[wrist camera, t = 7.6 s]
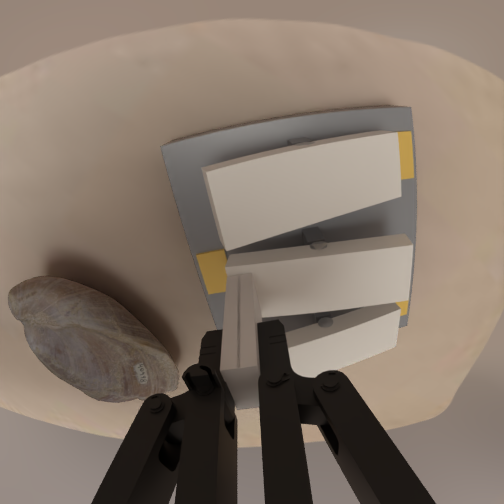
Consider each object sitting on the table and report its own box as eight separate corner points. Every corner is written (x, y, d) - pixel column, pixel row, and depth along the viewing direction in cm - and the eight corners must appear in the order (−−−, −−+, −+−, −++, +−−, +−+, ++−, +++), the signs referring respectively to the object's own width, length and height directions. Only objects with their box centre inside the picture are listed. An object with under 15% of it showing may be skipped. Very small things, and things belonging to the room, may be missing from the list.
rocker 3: (258, 374, 20) (263, 392, 19) (247, 339, 19) (252, 358, 17) (385, 332, 21) (395, 346, 20) (388, 295, 20) (400, 308, 18)
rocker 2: (243, 301, 19) (239, 319, 18) (230, 252, 18) (224, 267, 16) (400, 283, 17) (408, 300, 16) (403, 231, 16) (413, 245, 14)
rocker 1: (218, 238, 15) (226, 251, 13) (200, 166, 13) (205, 172, 12) (382, 189, 17) (401, 196, 15) (377, 129, 15) (397, 132, 14)
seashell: (187, 414, 25) (70, 416, 12) (94, 391, 28) (-20, 366, 15) (197, 320, 29) (100, 253, 16) (106, 313, 32) (5, 257, 19)
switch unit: (230, 337, 26) (228, 379, 22) (172, 140, 19) (151, 151, 14) (394, 304, 25) (415, 339, 21) (390, 105, 18) (426, 108, 13)
